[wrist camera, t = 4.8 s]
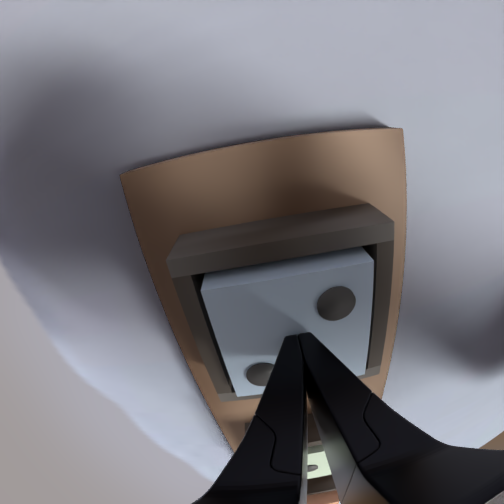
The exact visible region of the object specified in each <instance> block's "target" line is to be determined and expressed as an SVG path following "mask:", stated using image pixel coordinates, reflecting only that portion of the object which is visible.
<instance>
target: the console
mask: <svg viewBox="0 0 504 504" xmlns="http://www.w3.org/2000/svg"><path fill="white" fill-rule="evenodd" d="M120 179H121V183H122V187H123V190H124V194H125V197H126V201H127V204H128V208H129V211H130V215H131V218H132V221H133V224H134V227H135V231H136V234H137V237H138V240H139V243H140V246H141V249H142V252H143V255H144V258H145V261H146V263H147V266H148V269H149V272H150V274H151V277H152V280H153V283H154V285H155V288H156V291H157V293H158V296H159V298H160V301H161V303H162V306H163V308H164V311H165V313H166V316H167V318H168V321H169V323H170V325H171V328H172V330H173V332H174V335H175V337H176V339H177V342H178V344H179V346H180V348H181V351H182V353H183V355H184V357H185V359H186V361H187V364H188V366H189V368H190V370H191V372H192V374H193V376H194V378H195V380H196V382H197V384H198V386H199V388H200V390H201V392H202V394H203V396H204V398H205V400H206V402H207V404H208V406H209V408H210V410H211V412H212V414H213V415H214V417H215V419H216V421H217V423H218V425H219V426H220V428H221V430H222V432H223V434H224V435H225V437H226V439H227V441H228V442H229V444H230V446H231V447H232V449H233V451H234V453H235V451H236V450H237V448H238V446H239V444H240V443H241V441H242V439H243V437H244V435H245V433H246V431H247V429H248V427H249V425H250V423H251V420H252V418H253V416H254V415H255V411H256V409H257V406H258V404H259V402H260V399H261V397H262V394H258V395H250V396H240V397H237V395H236V392H235V390H234V387H233V384H232V382H231V379H230V376H229V373H228V371H227V368H226V365H225V362H224V360H223V357H222V354H221V351H220V348H219V345H218V342H217V339H216V337H215V334H214V331H213V328H212V325H211V322H210V319H209V316H208V312H207V309H206V306H205V303H204V300H203V297H202V294H201V287H202V283H203V279H204V275H205V273H207V272H213V271H219V270H225V269H231V268H237V267H243V266H249V265H255V264H261V263H267V262H273V261H279V260H285V259H291V258H296V257H302V256H308V255H314V254H319V253H325V252H331V251H336V250H342V249H348V248H353V247H359V246H362V247H363V248H364V250H365V251H366V252H367V253H368V254H369V256H370V257H371V258H372V259H373V260H374V278H373V298H372V313H371V325H370V336H369V345H368V354H367V362H366V369H365V374H364V375H360V376H357V377H358V378H359V379H360V380H361V381H362V382H363V383H364V384H365V385H366V386H367V387H368V388H369V389H371V390H372V393H373V392H374V393H375V394H376V395H377V396H378V397H379V398H380V399H382V395H383V391H384V387H385V383H386V379H387V375H388V370H389V366H390V361H391V356H392V351H393V346H394V340H395V335H396V329H397V322H398V316H399V309H400V301H401V293H402V283H403V273H404V261H405V245H406V214H407V195H406V164H405V149H404V137H403V129H402V128H391V127H388V128H366V129H351V130H338V131H328V132H318V133H309V134H301V135H293V136H286V137H279V138H272V139H265V140H259V141H253V142H248V143H242V144H237V145H231V146H226V147H221V148H216V149H212V150H207V151H202V152H198V153H193V154H189V155H185V156H181V157H177V158H173V159H169V160H165V161H161V162H157V163H154V164H150V165H146V166H143V167H139V168H136V169H133V170H129V171H127V172H125V173H123V174H121V175H120ZM306 393H307V392H306ZM307 421H308V447H311V446H316V445H321V444H322V442H321V439H320V435H319V432H318V429H317V426H316V423H315V420H314V416H313V413H312V410H311V407H310V404H309V400H308V397H307ZM334 490H336V487H335V483H334V480H333V477H332V474H331V475H326V476H321V477H316V478H310V479H307V495H313V494H319V493H324V492H329V491H334ZM338 498H339V496H338ZM339 501H340V500H339Z"/></svg>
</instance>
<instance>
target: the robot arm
mask: <svg viewBox="0 0 504 504" xmlns="http://www.w3.org/2000/svg"><path fill="white" fill-rule="evenodd" d="M306 392H307V393H306ZM307 397H308V400H309V404H310V407H311V410H312V413H313V416H314V420H315V423H316V426H317V429H318V432H319V435H320V439H321V442H322V445H323V448H324V451H325V454H326V458H327V461H328V464H329V467H330V471H331V474H332V477H333V480H334V483H335V487H336V490H337V493H338V496H339V500H340V503H341V504H504V450H488V449H475V448H465V447H457V446H451V445H447V444H444V443H442V442H440V441H438V440H436V439H434V438H433V437H431V436H430V435H428V434H427V433H425V432H424V431H422V430H421V429H419V428H418V427H416V426H415V425H413V424H412V423H411V422H409V421H408V420H406V419H405V418H403V417H402V416H401V415H399V414H398V413H397V412H395V411H394V410H393V409H391V408H390V407H389V406H388V405H387V404H386V403H385V402H383V401H382V400H381V399H380V398H379V397H378V396H377V395H376V394H375V393H374V392H373V393H372V390H371V389H369V388H368V387H367V386H366V385H365V384H364V383H363V382H362V381H361V380H360V379H359V378H358V377H357V376H356V375H355V374H354V373H353V372H352V371H351V370H350V369H349V368H347V367H346V366H345V365H344V364H343V363H342V362H341V361H340V360H339V359H338V358H337V357H336V356H335V355H334V354H333V353H332V352H331V351H330V350H329V349H328V348H327V347H326V346H325V345H324V344H323V343H322V342H321V341H320V340H318V339H317V338H316V337H315V336H314V335H313V334H312V333H311V332H306V333H300V334H299V335H296V334H294V335H289V336H285V337H284V340H283V342H282V345H281V348H280V350H279V353H278V356H277V358H276V361H275V364H274V366H273V369H272V371H271V374H270V377H269V379H268V382H267V384H266V387H265V389H264V392H263V394H262V397H261V399H260V402H259V404H258V406H257V409H256V411H255V415H254V416H253V418H252V420H251V423H250V425H249V427H248V429H247V431H246V433H245V435H244V437H243V439H242V441H241V443H240V444H239V446H238V448H237V450H236V451H235V453H234V454H233V456H232V457H231V459H230V460H229V462H228V463H227V465H226V466H225V468H224V469H223V471H222V472H221V474H220V475H219V477H218V478H217V480H216V481H215V482H214V484H213V485H212V486H211V488H210V489H209V490H208V491H207V492H206V493H205V494H204V495H203V496H202V497H200V498H199V499H198V500H196V501H195V502H193V503H192V504H307V469H308V421H307Z"/></svg>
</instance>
